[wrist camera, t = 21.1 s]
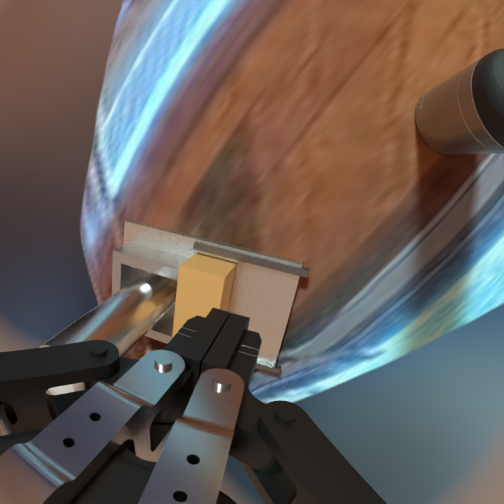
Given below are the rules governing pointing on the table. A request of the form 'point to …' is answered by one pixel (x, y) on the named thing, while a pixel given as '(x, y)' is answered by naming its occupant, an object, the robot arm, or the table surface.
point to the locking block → (202, 288)
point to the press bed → (243, 288)
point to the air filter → (120, 318)
